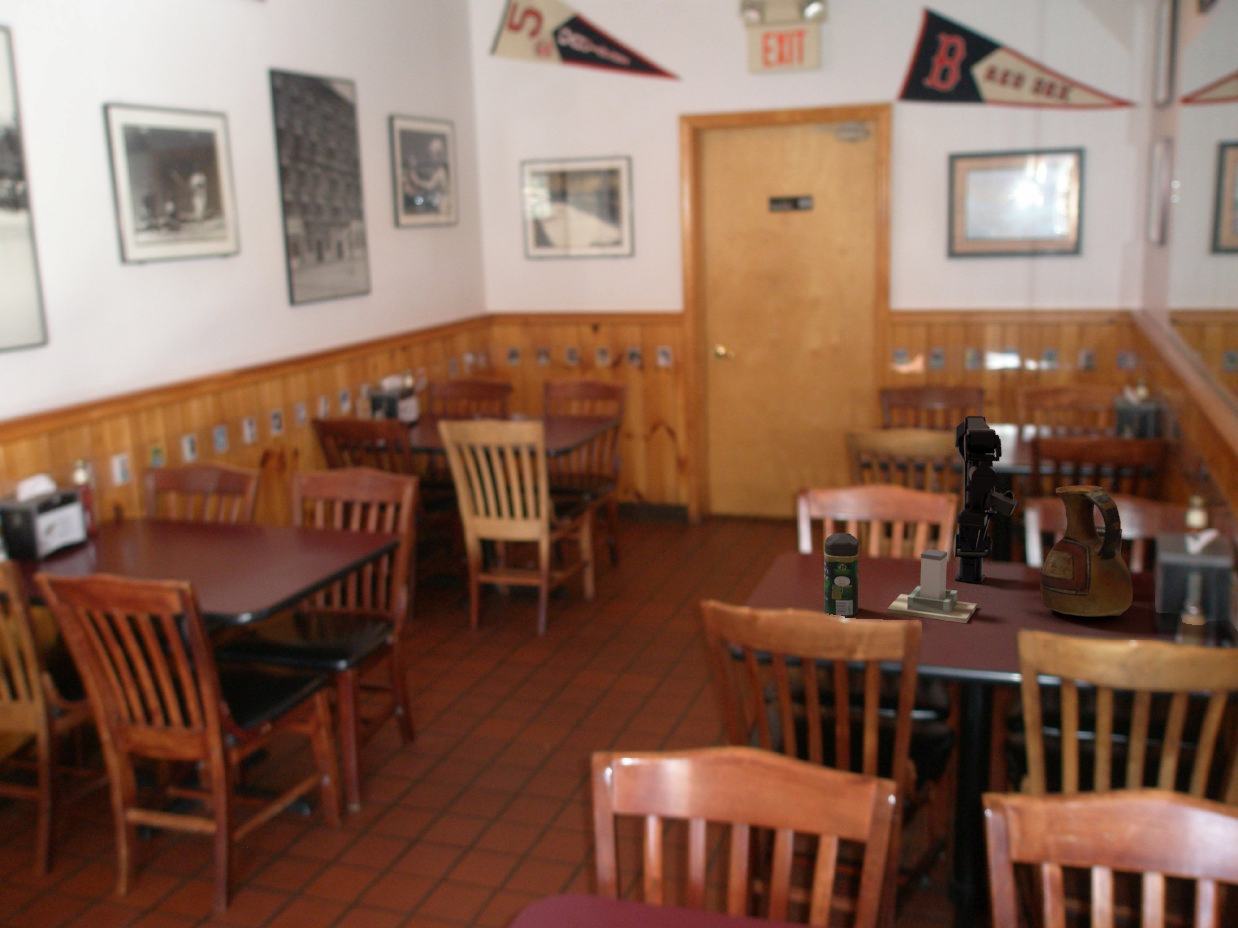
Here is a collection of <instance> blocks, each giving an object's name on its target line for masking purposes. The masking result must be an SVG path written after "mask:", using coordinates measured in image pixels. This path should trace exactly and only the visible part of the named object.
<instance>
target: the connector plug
mask: <svg viewBox="0 0 1238 928" xmlns="http://www.w3.org/2000/svg"><path fill="white" fill-rule="evenodd" d="M947 557H948V551H945V550H936V549H932V548H931V549H930V548H928V549H926V550H925V551H923V552H922V553H920V561H921V562H920V584H919V586H920V597H924V598H932V599H940V600H945V596H946V589H947V587H946V586H947V564H948V562H947V561H948V558H947Z"/></svg>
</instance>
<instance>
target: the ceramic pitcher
mask: <svg viewBox="0 0 1238 928" xmlns="http://www.w3.org/2000/svg"><path fill="white" fill-rule="evenodd" d="M1055 493H1056V495H1057V496H1059V498H1060V499H1061V501H1062V504H1063V505H1064V510H1065V516H1066V530H1065V534H1064V536H1063V537H1062V538H1061V539H1060V540H1059V541H1057V542H1056V543H1055V544H1054V545H1053V547H1051V548H1050V551H1049V552H1048V554H1047V556H1046V559H1045V561H1044V565H1043V568H1042V571H1041V576H1040V583H1039V584H1040V585H1039V586H1040V589H1039V590H1040V597H1041V601H1042V603H1043V605H1044V606H1045V607H1046V608H1048V609H1050V610H1052V611H1054V612H1058V613H1061V614H1064V615H1072V616H1076V617H1091V618H1092V617H1108V616H1114V617H1119V616H1121V615H1122V614H1123V613H1125V612H1126V611H1127V610H1128V609H1129V608H1130V606H1131V605H1132V603H1133V602H1132V601H1133V595H1134V594H1133V593H1134V591H1133V590H1134V589H1133V582H1132V578H1131V574H1130V571H1129V568H1128V566H1127V563H1126V561H1125V560H1124V559H1123V556H1122V555H1121V553H1120V554H1119V552H1118V551H1117V550H1116V549H1115V547H1116V544H1117V540H1118V537H1119V534H1120V529H1122V526H1121V525H1122V523H1121V522H1122V521H1121V518H1120V517H1121V515H1120V512H1119V509H1118V507H1117V504H1116V502H1115V501H1114V500H1113V498H1111V496H1109V494H1108V493H1106V492H1105V491H1104V487H1103V486H1097V485H1090V484H1089V485H1087V484H1086V485H1080V484H1079V485H1070V486H1069V485H1067V486H1061V487H1056V488H1055ZM1095 506H1096V507H1097V508H1098V510H1099V512H1100V514H1101V517H1102V519H1103V523H1104V527H1105V536H1104V539H1103V538H1101V537H1100V536H1099V535H1098V533H1097V530H1096V527H1095V526H1096V524H1095V515H1094V513H1095V512H1094V510H1095Z"/></svg>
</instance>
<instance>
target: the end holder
mask: <svg viewBox="0 0 1238 928" xmlns="http://www.w3.org/2000/svg"><path fill="white" fill-rule="evenodd" d="M958 595H959V594H958V590H953V589H947V588H946V596H945V600H940V599H932V598H924V597H920V585H917V586H916V587H915V588H914V589H913V590H912V591H911V593H909V594H905V593H900V594H899V595H898V596H897V598H896V599H894V601H893V602H892V603H891V604H890V605H889V606H888V608H887V612H886V613H887V614H888V613H889V614H895V615H902V616H910V617H918V618H922V619H923V618H925V619H932V620H937V621H938V620H939V621H947V622H954V623H961V624H967V623H968V621H969V620H970V618H971V617H972V615H973V614H974V613H975V611H976V609H978V608H977V607H978V603H977V602H976V603H974V602H968V601H958Z"/></svg>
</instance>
